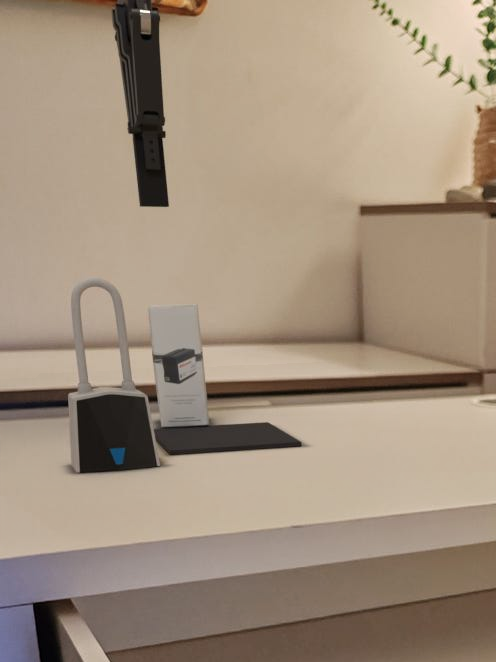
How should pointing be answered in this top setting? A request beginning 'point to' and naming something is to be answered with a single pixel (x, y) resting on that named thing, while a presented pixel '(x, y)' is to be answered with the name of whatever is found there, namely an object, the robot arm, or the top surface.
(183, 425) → the ink box
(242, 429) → the mat
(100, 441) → the padlock
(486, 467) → the top surface
